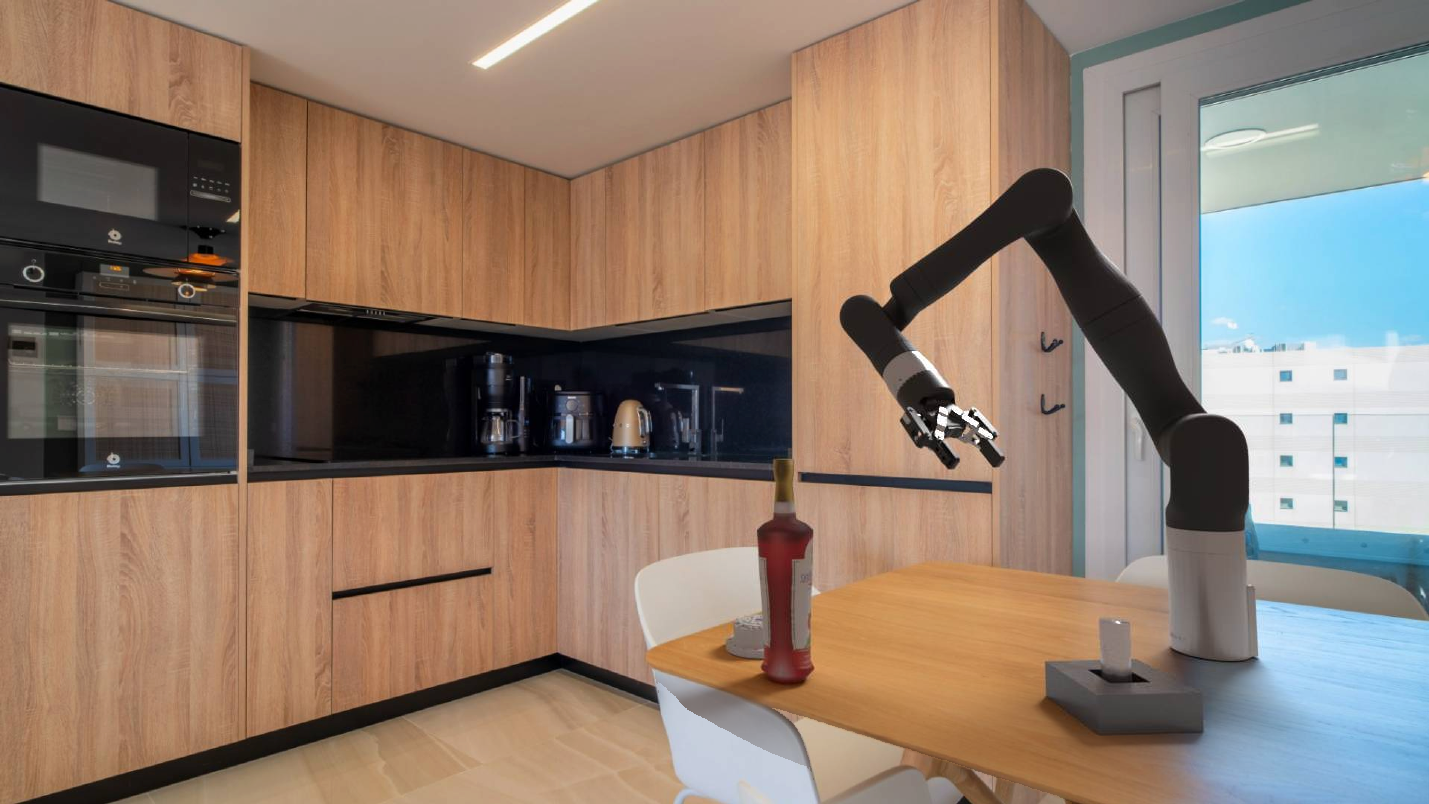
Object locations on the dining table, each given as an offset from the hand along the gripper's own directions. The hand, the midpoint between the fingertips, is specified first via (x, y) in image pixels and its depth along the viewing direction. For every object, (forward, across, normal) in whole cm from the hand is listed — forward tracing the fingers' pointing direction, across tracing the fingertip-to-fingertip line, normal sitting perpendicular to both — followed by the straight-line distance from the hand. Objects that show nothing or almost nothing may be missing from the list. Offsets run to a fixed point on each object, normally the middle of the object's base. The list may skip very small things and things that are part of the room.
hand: (978, 464), depth 99 cm
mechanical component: (+5, -24, +33) cm, 41 cm away
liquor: (+14, -27, +24) cm, 39 cm away
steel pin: (+33, -1, +5) cm, 33 cm away
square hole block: (+33, -1, +5) cm, 33 cm away
